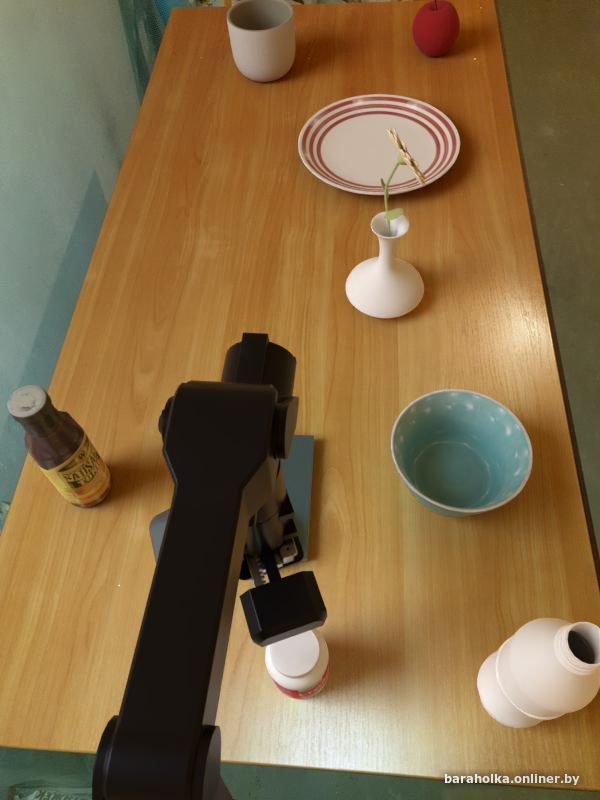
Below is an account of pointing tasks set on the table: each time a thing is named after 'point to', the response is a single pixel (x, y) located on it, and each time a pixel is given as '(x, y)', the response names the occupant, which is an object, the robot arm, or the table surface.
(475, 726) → the table surface
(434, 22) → the apple
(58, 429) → the sauce bottle
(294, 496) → the teal rectangular base
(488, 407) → the bowl
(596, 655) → the water bottle
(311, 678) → the pill bottle
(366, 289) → the flower in vase
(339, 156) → the dinner plate
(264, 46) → the planter
